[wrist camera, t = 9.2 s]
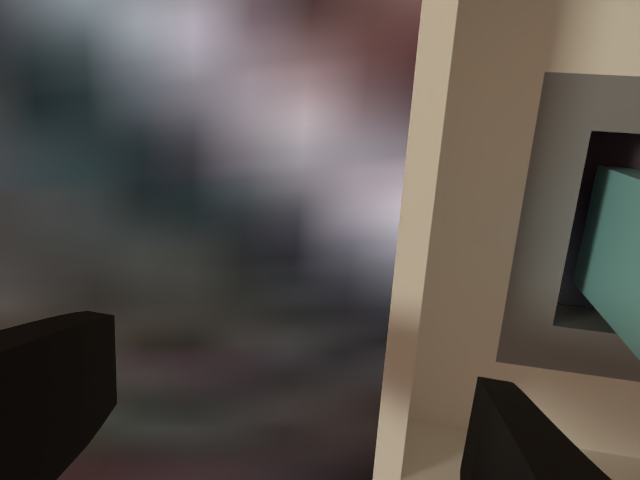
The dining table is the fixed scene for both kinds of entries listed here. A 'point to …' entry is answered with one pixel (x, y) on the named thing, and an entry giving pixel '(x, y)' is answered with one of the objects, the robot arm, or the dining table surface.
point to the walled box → (506, 230)
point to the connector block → (613, 252)
